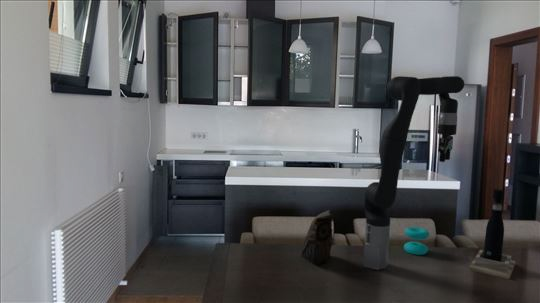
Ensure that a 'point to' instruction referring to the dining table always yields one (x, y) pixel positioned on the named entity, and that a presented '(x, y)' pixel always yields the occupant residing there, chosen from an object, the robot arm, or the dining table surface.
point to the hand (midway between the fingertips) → (444, 160)
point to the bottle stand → (493, 265)
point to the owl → (318, 240)
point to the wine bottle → (495, 229)
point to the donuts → (416, 234)
